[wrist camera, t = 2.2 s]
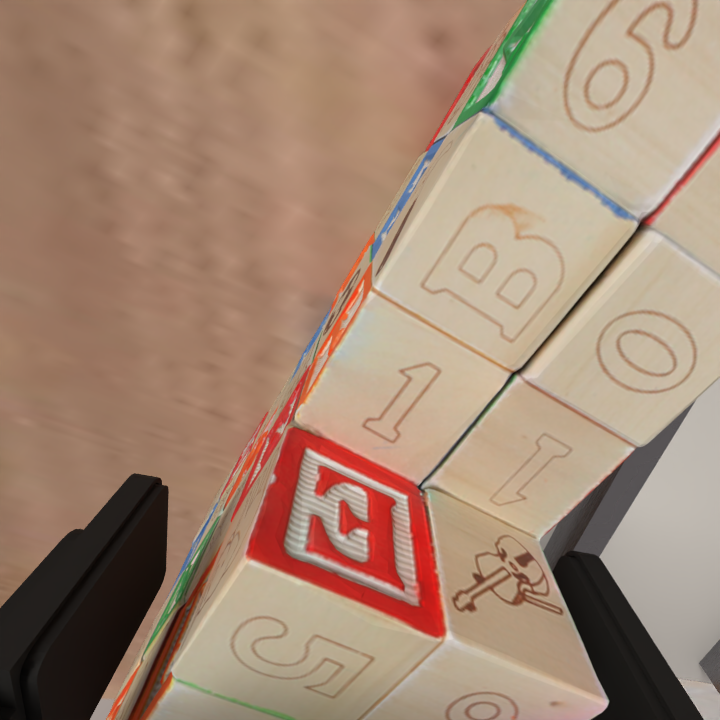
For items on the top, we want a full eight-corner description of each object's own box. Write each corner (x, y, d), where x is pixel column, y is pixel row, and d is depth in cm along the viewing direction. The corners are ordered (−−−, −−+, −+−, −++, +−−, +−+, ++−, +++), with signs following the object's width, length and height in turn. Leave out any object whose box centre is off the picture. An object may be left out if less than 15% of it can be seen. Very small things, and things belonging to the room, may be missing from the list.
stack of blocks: (472, 56, 13) (1163, -819, 2) (617, 168, 14) (1612, 104, 3) (213, 498, 21) (20, 883, 9) (321, 547, 22) (267, 942, 10)
